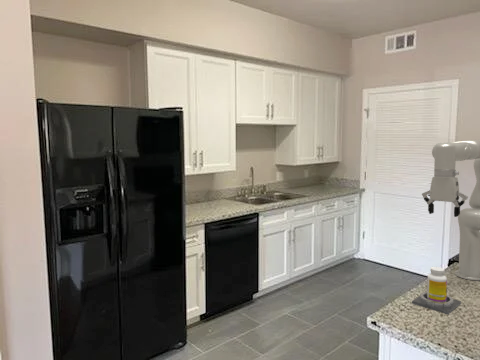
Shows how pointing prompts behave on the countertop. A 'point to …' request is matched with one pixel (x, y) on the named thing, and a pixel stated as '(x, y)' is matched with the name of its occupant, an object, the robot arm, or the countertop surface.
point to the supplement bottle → (437, 285)
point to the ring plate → (444, 310)
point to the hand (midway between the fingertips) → (443, 214)
